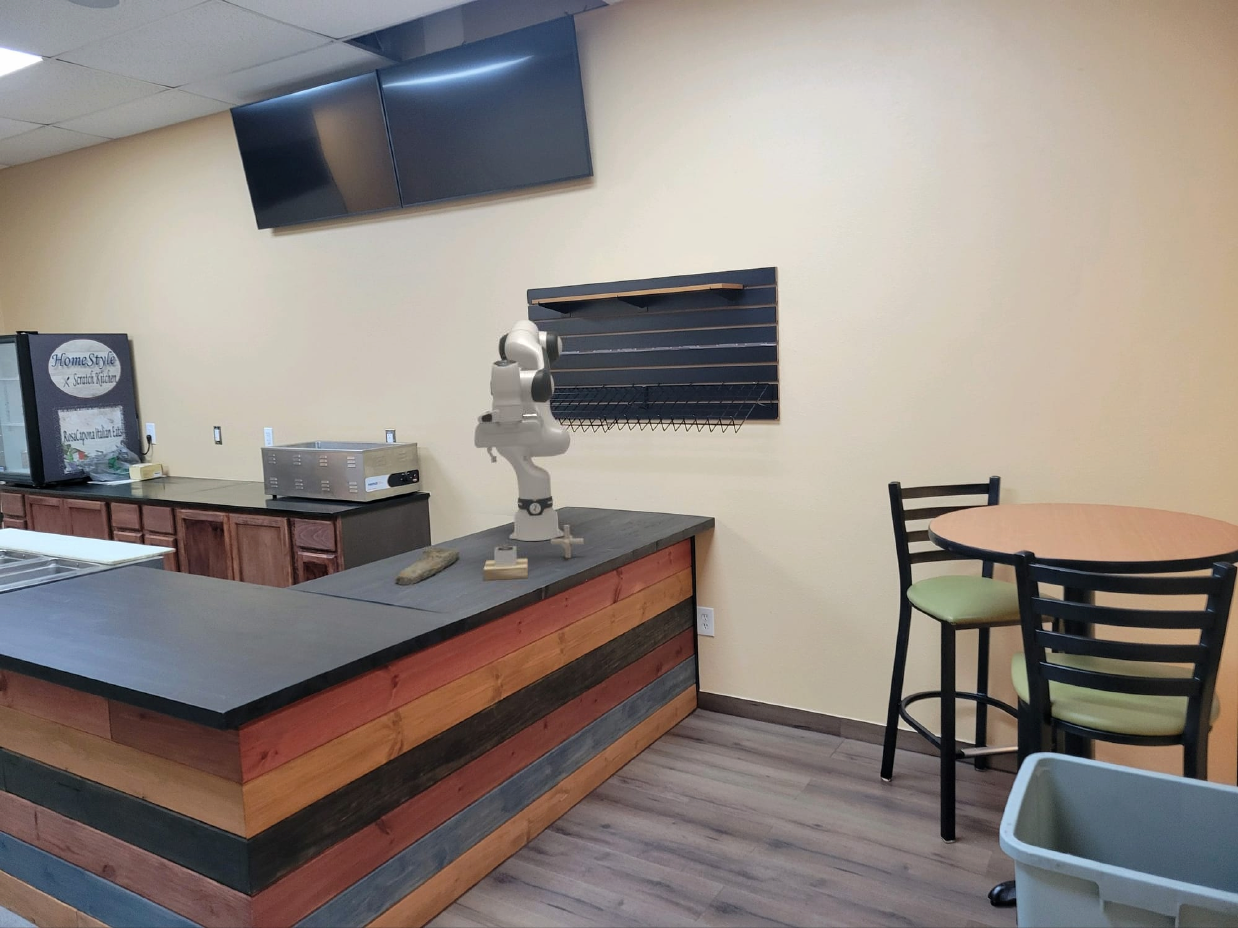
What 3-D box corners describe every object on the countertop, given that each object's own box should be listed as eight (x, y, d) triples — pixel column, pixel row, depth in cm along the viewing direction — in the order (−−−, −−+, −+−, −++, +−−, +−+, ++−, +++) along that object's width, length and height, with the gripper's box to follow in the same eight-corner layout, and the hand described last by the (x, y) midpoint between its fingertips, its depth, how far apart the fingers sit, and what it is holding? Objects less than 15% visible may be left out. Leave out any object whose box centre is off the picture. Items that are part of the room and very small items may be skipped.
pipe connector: (586, 553, 268) (584, 522, 267) (581, 560, 259) (580, 528, 257) (554, 553, 269) (553, 522, 268) (549, 561, 260) (547, 529, 258)
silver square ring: (496, 561, 248) (495, 546, 248) (517, 560, 249) (516, 545, 248) (495, 566, 242) (494, 551, 242) (516, 565, 243) (515, 550, 242)
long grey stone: (386, 590, 239) (419, 593, 237) (385, 572, 238) (419, 574, 236) (437, 555, 272) (466, 557, 270) (436, 539, 271) (466, 540, 269)
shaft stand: (487, 570, 251) (485, 541, 250) (528, 567, 252) (526, 539, 251) (484, 580, 239) (482, 550, 238) (527, 577, 240) (525, 548, 239)
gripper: (543, 413, 256) (545, 458, 258) (474, 416, 255) (476, 461, 256) (542, 414, 250) (545, 461, 252) (472, 417, 248) (475, 464, 250)
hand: (510, 461), depth 254 cm, fingers open, 8 cm apart
